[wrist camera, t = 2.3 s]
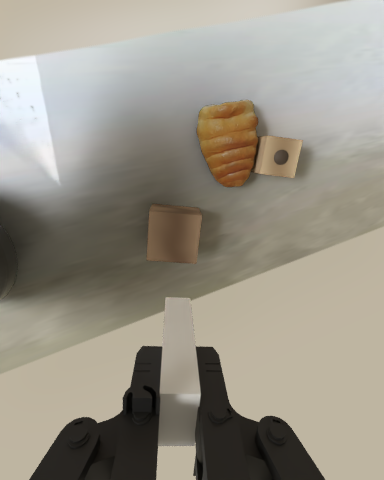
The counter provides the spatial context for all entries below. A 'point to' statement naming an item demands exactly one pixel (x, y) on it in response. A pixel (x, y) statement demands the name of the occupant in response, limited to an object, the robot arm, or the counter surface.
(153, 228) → the walnut block
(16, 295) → the counter surface
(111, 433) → the robot arm
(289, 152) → the beech block
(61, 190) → the counter surface
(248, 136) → the pastry
